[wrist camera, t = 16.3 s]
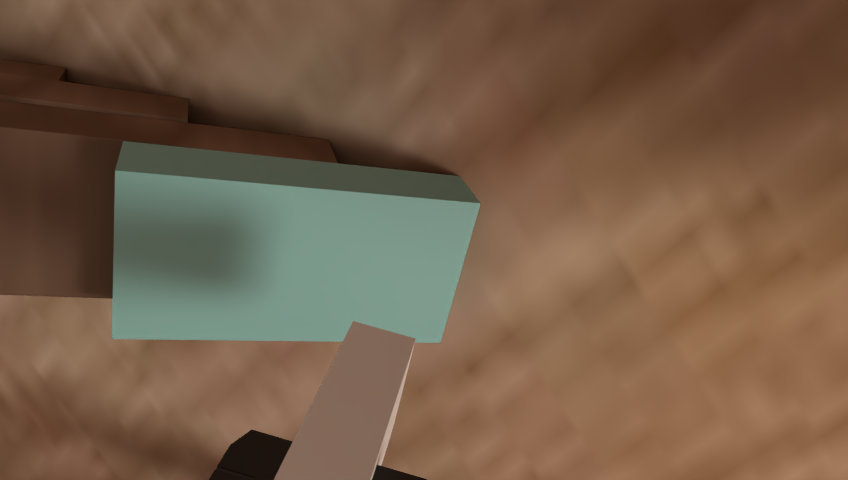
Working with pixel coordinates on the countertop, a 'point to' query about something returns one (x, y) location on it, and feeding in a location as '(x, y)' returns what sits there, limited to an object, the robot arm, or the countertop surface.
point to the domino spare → (282, 247)
